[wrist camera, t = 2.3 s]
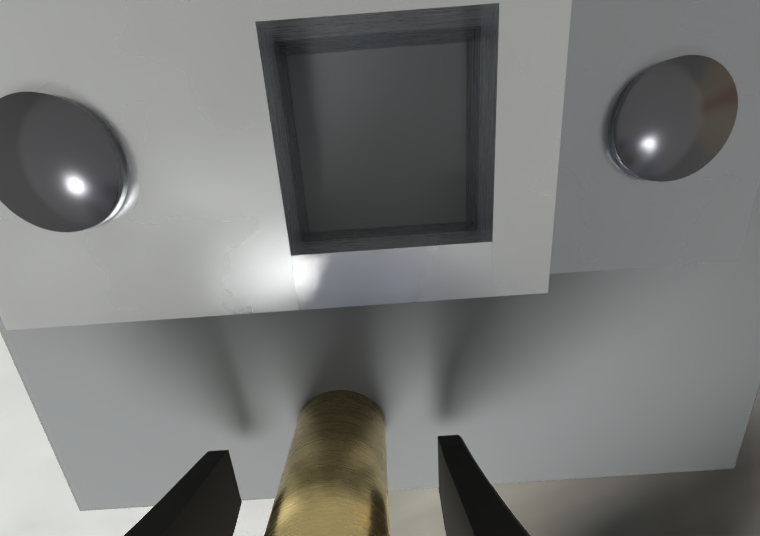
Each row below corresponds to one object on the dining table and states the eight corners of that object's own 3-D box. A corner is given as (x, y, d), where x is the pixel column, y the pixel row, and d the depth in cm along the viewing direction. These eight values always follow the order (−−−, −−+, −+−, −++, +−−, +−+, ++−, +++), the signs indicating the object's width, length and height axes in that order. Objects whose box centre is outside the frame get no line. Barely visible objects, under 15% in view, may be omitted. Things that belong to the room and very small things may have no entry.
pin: (382, 386, 12) (390, 610, 6) (388, 459, 13) (399, 710, 7) (291, 393, 12) (212, 621, 6) (303, 464, 13) (245, 720, 7)
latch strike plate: (762, -45, 8) (939, -135, 6) (699, 248, 10) (806, 280, 8) (-11, 14, 8) (-182, -47, 6) (85, 291, 11) (-7, 336, 8)
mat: (905, -182, 8) (939, -203, 7) (721, 457, 13) (734, 468, 13) (-164, -96, 8) (-198, -112, 8) (90, 498, 14) (79, 510, 13)
